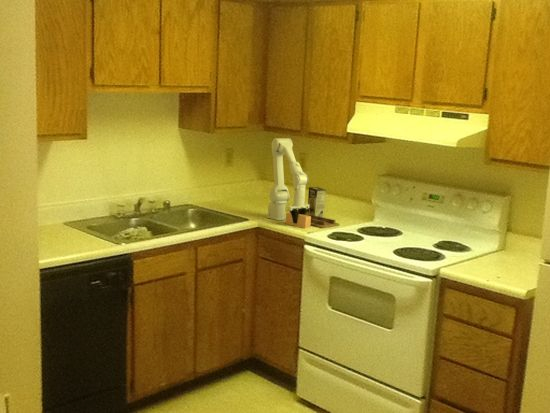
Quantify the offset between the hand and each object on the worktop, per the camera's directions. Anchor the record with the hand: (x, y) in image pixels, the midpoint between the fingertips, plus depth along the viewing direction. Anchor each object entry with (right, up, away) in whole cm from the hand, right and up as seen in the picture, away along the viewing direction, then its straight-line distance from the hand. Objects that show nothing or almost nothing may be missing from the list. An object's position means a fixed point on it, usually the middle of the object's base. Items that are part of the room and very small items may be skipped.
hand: (297, 222), depth 373 cm
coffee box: (+11, +3, +28) cm, 31 cm away
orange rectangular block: (0, -2, 0) cm, 2 cm away
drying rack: (+10, -1, +9) cm, 13 cm away
